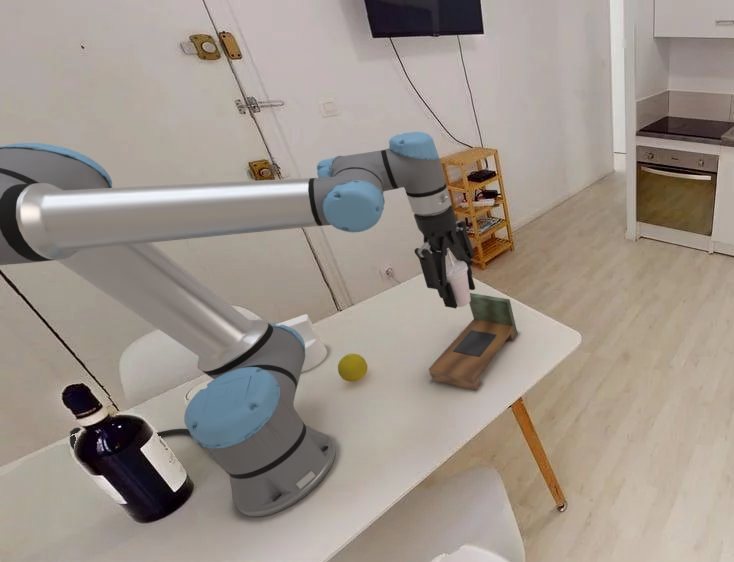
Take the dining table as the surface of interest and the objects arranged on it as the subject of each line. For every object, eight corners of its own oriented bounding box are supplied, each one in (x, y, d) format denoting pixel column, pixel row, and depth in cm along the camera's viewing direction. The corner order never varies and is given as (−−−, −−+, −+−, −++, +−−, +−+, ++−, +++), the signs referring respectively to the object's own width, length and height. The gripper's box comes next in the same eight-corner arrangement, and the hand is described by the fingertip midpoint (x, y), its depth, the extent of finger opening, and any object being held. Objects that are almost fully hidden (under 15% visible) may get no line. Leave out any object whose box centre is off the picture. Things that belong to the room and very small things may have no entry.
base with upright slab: (284, 379, 100) (260, 343, 94) (285, 357, 106) (263, 322, 100) (328, 361, 104) (308, 326, 98) (326, 341, 111) (307, 307, 105)
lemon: (359, 390, 96) (346, 366, 92) (340, 387, 97) (326, 363, 93) (377, 372, 101) (365, 348, 97) (358, 369, 102) (346, 345, 98)
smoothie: (481, 293, 99) (467, 244, 92) (469, 311, 93) (453, 260, 86) (456, 292, 99) (440, 243, 92) (442, 310, 94) (424, 259, 87)
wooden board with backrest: (432, 380, 98) (418, 344, 92) (479, 326, 114) (469, 292, 108) (476, 390, 95) (463, 353, 89) (517, 333, 111) (509, 299, 105)
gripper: (414, 233, 75) (447, 327, 87) (476, 191, 91) (497, 276, 102) (381, 229, 77) (418, 321, 88) (447, 189, 93) (471, 272, 104)
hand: (460, 297), depth 95 cm, fingers closed on smoothie, 6 cm apart
